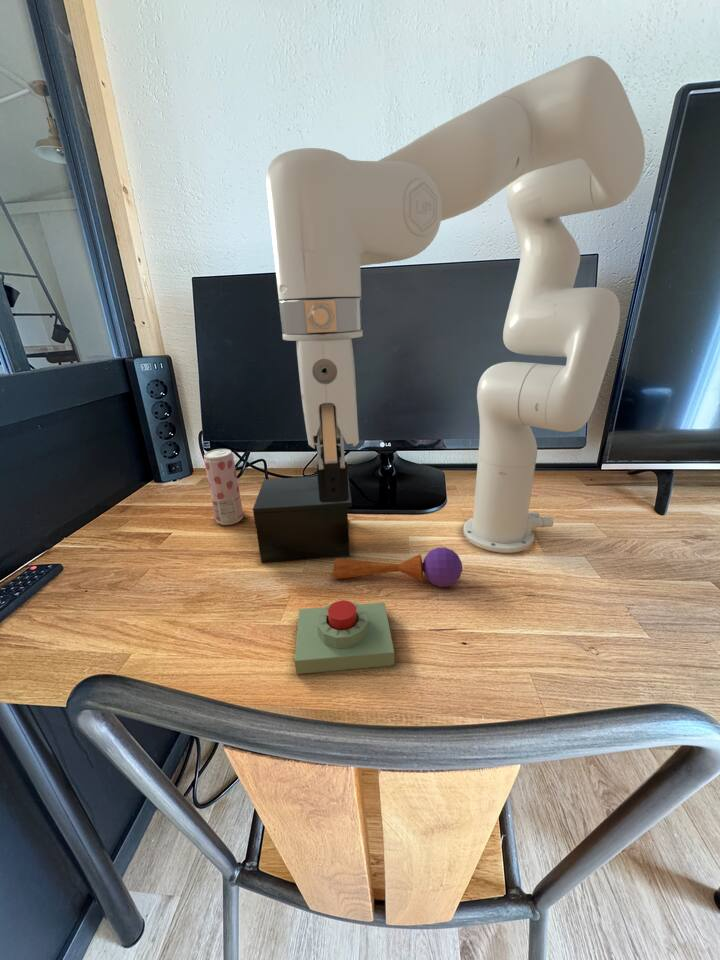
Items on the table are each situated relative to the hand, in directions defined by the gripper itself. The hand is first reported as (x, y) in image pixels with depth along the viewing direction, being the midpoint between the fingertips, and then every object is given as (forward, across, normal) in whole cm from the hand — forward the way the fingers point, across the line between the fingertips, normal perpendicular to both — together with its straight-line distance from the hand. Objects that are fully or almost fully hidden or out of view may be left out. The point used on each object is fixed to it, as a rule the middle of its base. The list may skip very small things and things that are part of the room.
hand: (334, 498), depth 44 cm
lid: (+11, +26, +6) cm, 29 cm away
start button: (+17, 0, 0) cm, 17 cm away
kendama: (+21, +12, -9) cm, 26 cm away
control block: (+21, 0, 0) cm, 21 cm away
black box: (+21, +26, +6) cm, 34 cm away
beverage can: (+21, +37, +23) cm, 48 cm away
